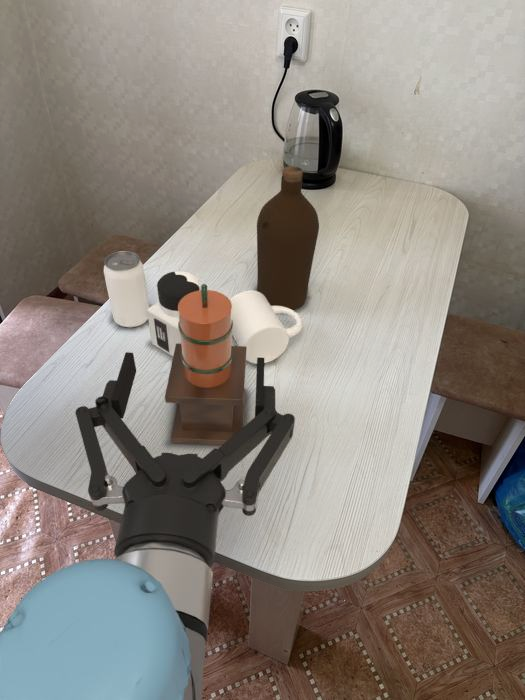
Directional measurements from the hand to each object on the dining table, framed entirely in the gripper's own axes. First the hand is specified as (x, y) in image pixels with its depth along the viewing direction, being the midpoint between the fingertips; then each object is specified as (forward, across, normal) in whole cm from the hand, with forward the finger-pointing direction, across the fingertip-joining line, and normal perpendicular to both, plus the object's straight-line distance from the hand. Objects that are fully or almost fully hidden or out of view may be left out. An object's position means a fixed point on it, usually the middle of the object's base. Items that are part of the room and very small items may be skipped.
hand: (195, 363), depth 53 cm
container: (+26, -6, -21) cm, 34 cm away
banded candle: (+10, 0, -11) cm, 15 cm away
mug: (+27, +8, -21) cm, 35 cm away
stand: (+10, 0, -21) cm, 23 cm away
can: (+32, -16, -21) cm, 41 cm away
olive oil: (+40, +11, -21) cm, 46 cm away
